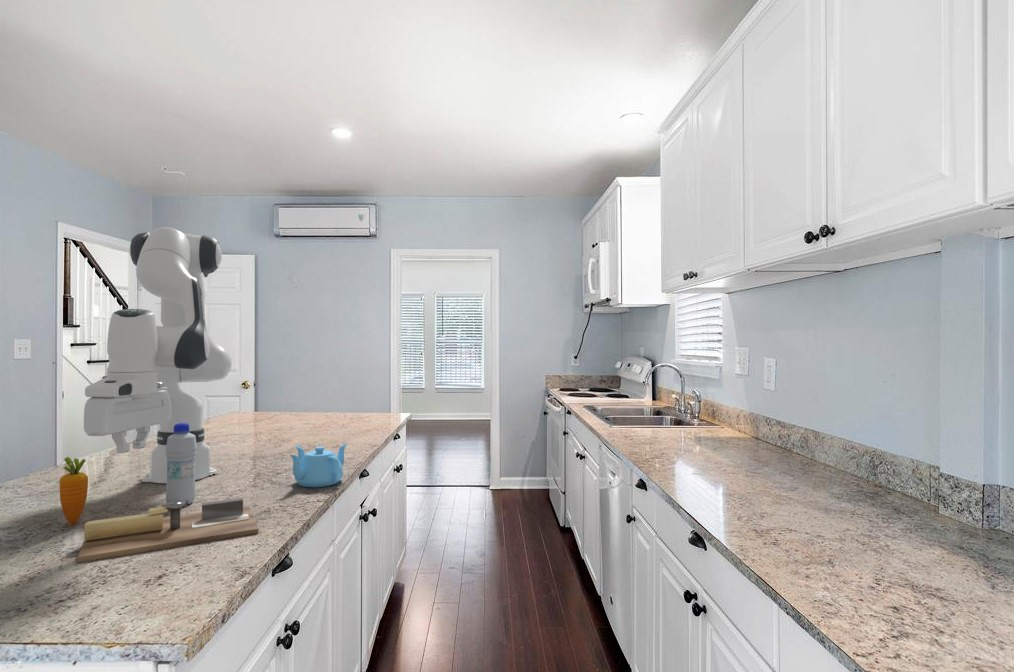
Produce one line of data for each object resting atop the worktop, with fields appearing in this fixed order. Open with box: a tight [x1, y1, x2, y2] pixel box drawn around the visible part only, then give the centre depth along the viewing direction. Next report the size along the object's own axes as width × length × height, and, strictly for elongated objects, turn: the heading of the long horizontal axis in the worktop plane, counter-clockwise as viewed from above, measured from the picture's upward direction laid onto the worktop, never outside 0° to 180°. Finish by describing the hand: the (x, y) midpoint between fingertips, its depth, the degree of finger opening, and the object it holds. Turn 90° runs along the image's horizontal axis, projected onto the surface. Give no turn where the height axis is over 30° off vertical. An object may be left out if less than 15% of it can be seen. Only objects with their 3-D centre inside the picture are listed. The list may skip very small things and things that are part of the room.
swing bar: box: [83, 500, 187, 542], centre depth 109 cm, size 17×4×5 cm, turn 121°
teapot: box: [289, 442, 349, 488], centre depth 153 cm, size 15×15×10 cm
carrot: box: [58, 456, 89, 527], centre depth 117 cm, size 5×5×15 cm
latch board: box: [77, 497, 260, 563], centre depth 113 cm, size 18×30×5 cm, turn 121°
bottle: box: [165, 423, 197, 505], centre depth 133 cm, size 7×7×20 cm
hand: (131, 450), depth 114 cm, fingers open, 3 cm apart
